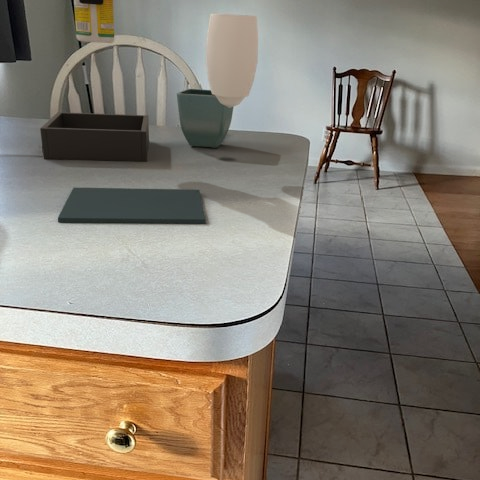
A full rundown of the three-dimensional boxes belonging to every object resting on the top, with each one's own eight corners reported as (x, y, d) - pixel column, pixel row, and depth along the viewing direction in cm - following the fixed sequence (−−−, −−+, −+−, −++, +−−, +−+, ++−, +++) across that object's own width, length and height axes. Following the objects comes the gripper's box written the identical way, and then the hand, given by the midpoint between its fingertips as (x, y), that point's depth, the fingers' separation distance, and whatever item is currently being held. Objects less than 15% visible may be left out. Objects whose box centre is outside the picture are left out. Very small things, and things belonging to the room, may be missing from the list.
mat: (58, 222, 58) (57, 217, 58) (73, 191, 69) (73, 187, 69) (205, 223, 61) (205, 219, 60) (199, 193, 71) (199, 189, 71)
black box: (43, 158, 83) (40, 128, 81) (60, 138, 96) (57, 112, 94) (147, 161, 85) (146, 131, 83) (149, 141, 98) (148, 115, 96)
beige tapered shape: (214, 177, 79) (219, 13, 69) (196, 165, 84) (198, 12, 74) (258, 174, 82) (269, 16, 72) (238, 163, 87) (246, 15, 77)
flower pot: (187, 138, 103) (188, 87, 98) (233, 142, 102) (236, 91, 97) (175, 147, 95) (175, 92, 91) (225, 152, 94) (227, 96, 90)
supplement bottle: (75, 41, 76) (68, -41, 71) (78, 39, 81) (72, -37, 76) (114, 43, 77) (110, -37, 72) (115, 41, 82) (111, -34, 77)
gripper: (62, -149, 75) (74, 3, 83) (39, -189, 60) (56, 1, 69) (117, -143, 76) (123, 7, 84) (109, -181, 61) (117, 5, 70)
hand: (93, 2), depth 76 cm, fingers closed on supplement bottle, 5 cm apart
